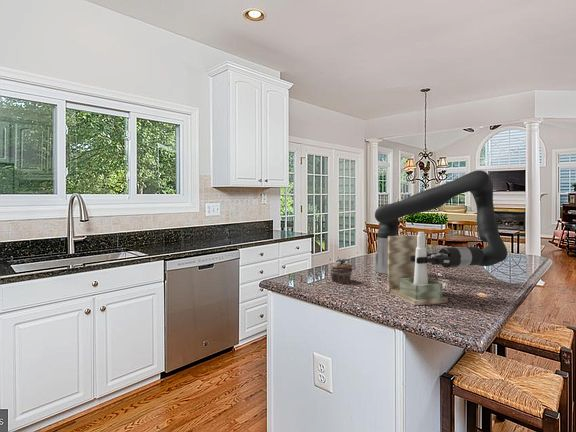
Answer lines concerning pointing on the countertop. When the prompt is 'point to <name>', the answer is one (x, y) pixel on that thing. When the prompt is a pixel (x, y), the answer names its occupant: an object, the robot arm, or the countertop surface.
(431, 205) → the robot arm
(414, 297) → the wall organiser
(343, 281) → the cupcake
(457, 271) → the countertop surface
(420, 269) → the cosmetic bottle
